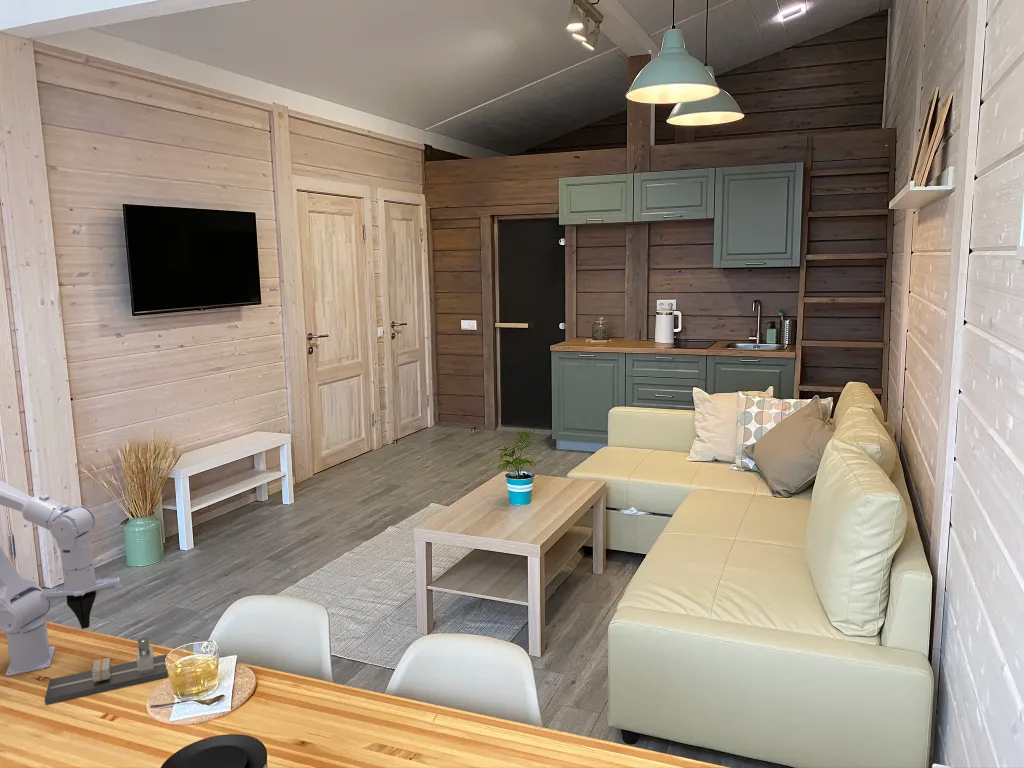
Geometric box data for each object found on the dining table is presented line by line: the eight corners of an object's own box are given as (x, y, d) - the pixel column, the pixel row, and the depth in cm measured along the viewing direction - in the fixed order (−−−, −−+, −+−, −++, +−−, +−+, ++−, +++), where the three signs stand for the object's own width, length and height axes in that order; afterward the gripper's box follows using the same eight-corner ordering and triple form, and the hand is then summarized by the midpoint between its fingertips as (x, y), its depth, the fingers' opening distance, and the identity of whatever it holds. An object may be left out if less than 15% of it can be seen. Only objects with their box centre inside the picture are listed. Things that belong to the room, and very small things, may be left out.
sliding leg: (95, 670, 159) (93, 660, 158) (111, 667, 160) (110, 657, 160) (93, 682, 154) (92, 672, 154) (110, 679, 155) (108, 668, 155)
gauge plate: (50, 684, 157) (46, 651, 156) (167, 659, 166) (164, 627, 165) (45, 704, 150) (40, 669, 148) (167, 677, 159) (164, 644, 157)
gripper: (35, 579, 153) (43, 642, 155) (116, 565, 159) (122, 626, 161) (39, 566, 159) (47, 627, 162) (117, 554, 165) (124, 613, 167)
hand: (85, 626), depth 162 cm, fingers closed
